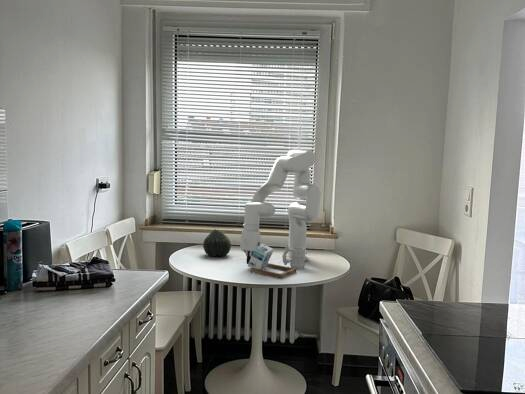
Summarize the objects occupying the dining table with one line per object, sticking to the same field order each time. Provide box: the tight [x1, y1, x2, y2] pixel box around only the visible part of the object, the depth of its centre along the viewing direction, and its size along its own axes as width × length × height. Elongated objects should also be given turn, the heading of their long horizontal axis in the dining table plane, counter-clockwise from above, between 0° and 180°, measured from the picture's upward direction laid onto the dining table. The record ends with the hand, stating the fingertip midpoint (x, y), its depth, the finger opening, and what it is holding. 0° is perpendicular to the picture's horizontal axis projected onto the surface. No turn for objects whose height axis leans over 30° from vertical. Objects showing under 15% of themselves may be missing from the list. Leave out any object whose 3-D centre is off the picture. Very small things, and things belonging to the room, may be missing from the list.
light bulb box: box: [247, 243, 274, 270], centre depth 222 cm, size 11×7×11 cm, turn 159°
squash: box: [202, 228, 232, 258], centre depth 250 cm, size 14×15×15 cm
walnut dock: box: [250, 262, 298, 280], centre depth 219 cm, size 14×17×2 cm
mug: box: [281, 243, 306, 270], centre depth 229 cm, size 8×12×12 cm, turn 94°
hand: (249, 263), depth 226 cm, fingers closed
